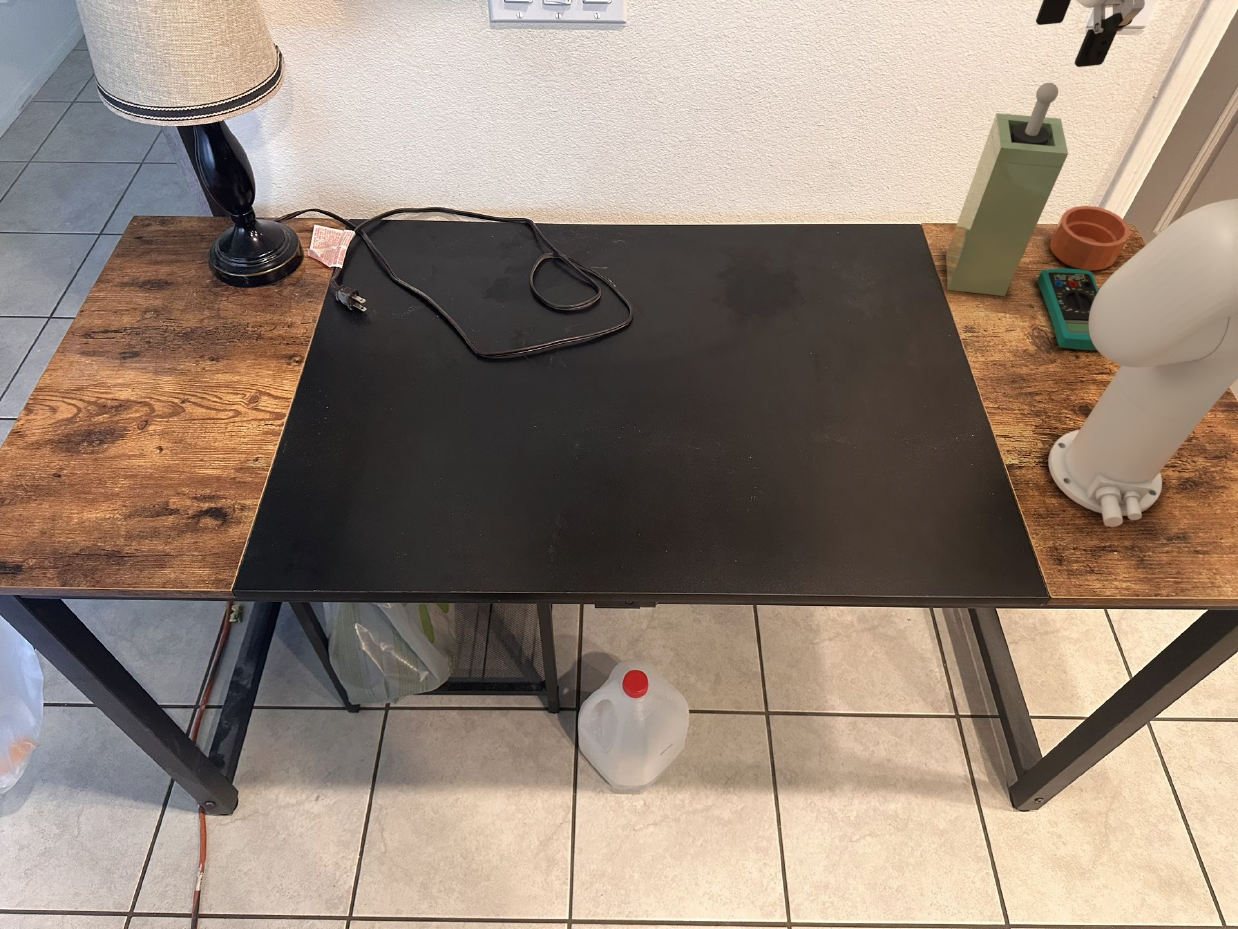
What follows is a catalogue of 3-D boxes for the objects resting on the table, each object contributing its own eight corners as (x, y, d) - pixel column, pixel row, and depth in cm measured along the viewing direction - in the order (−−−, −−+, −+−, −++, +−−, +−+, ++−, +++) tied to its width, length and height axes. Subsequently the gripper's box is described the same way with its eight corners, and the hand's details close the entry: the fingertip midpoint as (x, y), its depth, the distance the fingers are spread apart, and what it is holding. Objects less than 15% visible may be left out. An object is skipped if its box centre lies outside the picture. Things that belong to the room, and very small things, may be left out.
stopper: (1045, 158, 108) (1072, 95, 101) (1009, 154, 109) (1033, 91, 102) (1041, 138, 111) (1067, 76, 104) (1006, 135, 111) (1030, 73, 105)
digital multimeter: (1085, 281, 125) (1093, 265, 123) (1113, 353, 116) (1122, 337, 114) (1033, 279, 126) (1041, 263, 123) (1057, 351, 116) (1066, 335, 114)
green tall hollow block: (1004, 296, 123) (1068, 153, 105) (947, 290, 124) (1001, 147, 106) (1000, 261, 128) (1061, 118, 110) (945, 255, 129) (996, 112, 111)
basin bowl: (1119, 276, 126) (1135, 249, 122) (1051, 269, 127) (1065, 242, 123) (1109, 237, 131) (1124, 209, 127) (1045, 230, 132) (1057, 202, 128)
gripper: (1061, -155, 90) (1005, 11, 104) (1146, -89, 80) (1071, 85, 94) (1127, -161, 91) (1063, 5, 105) (1221, -96, 81) (1136, 79, 94)
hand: (1067, 43), depth 99 cm, fingers open, 9 cm apart
